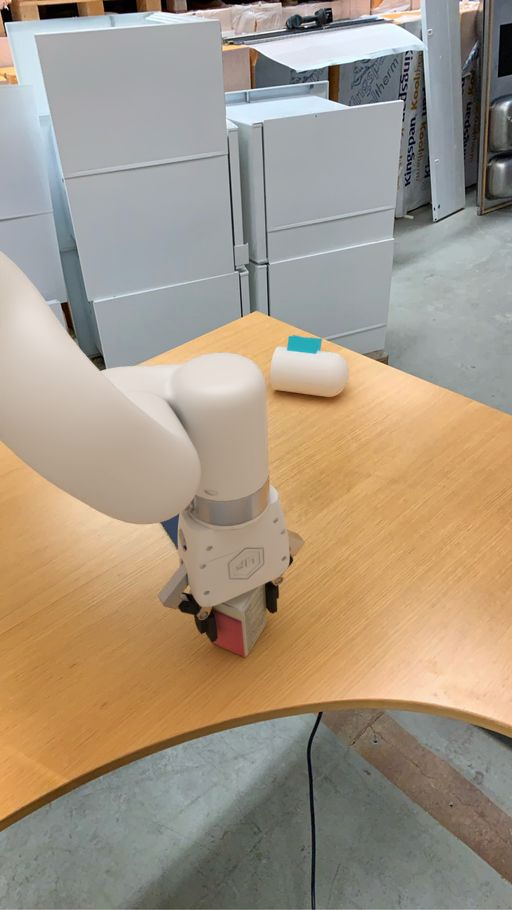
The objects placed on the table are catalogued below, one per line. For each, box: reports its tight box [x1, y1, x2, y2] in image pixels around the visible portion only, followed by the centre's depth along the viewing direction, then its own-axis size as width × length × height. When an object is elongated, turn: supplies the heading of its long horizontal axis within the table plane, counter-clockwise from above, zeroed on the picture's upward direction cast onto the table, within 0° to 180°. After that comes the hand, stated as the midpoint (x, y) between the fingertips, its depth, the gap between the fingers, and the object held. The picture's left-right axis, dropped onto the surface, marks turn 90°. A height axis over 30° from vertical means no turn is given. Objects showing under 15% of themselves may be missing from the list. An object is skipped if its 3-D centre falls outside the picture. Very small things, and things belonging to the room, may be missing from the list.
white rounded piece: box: [269, 334, 350, 398], centre depth 108 cm, size 12×9×12 cm
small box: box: [211, 584, 268, 658], centre depth 68 cm, size 5×4×8 cm
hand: (238, 616), depth 69 cm, fingers closed on small box, 6 cm apart
